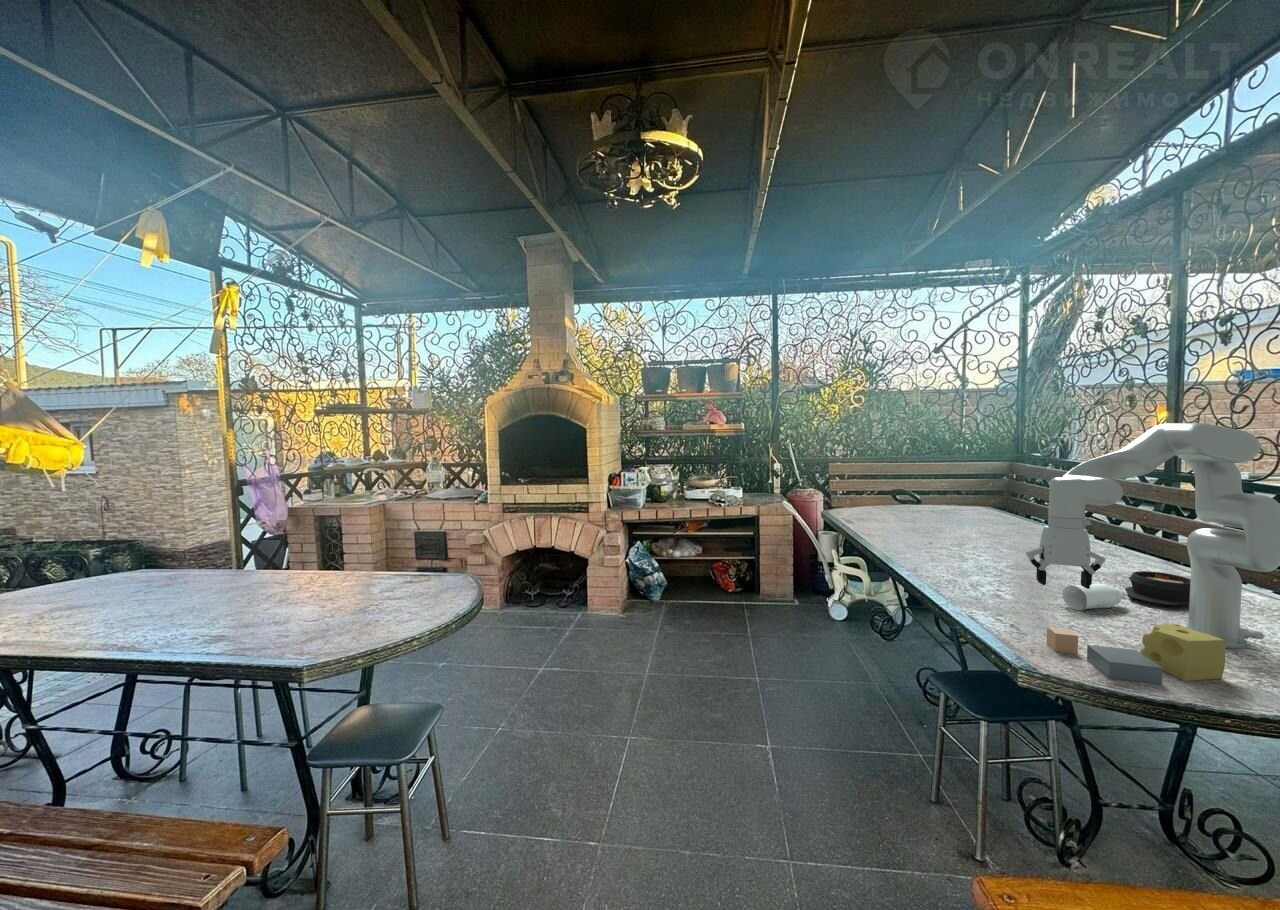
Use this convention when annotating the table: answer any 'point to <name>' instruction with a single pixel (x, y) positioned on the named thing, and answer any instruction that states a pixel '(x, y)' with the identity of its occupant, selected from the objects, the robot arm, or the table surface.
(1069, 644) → the cube
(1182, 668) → the cheese
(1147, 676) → the pedestal
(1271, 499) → the robot arm
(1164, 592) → the casserole
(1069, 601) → the white hollow cylinder
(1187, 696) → the table surface
